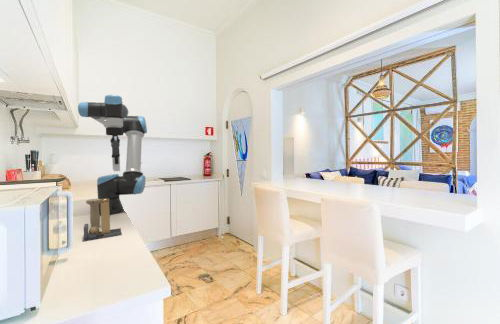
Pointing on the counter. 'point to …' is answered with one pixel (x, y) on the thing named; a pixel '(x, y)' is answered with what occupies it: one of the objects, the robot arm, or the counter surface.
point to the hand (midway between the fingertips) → (116, 170)
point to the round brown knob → (94, 230)
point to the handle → (94, 212)
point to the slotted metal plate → (94, 235)
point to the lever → (105, 216)
